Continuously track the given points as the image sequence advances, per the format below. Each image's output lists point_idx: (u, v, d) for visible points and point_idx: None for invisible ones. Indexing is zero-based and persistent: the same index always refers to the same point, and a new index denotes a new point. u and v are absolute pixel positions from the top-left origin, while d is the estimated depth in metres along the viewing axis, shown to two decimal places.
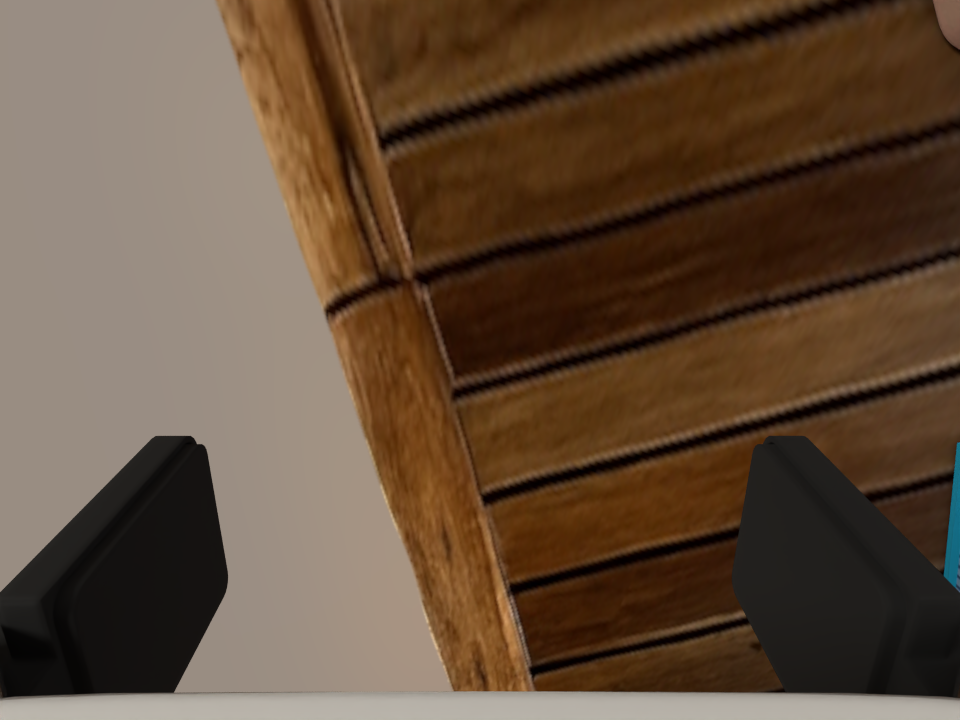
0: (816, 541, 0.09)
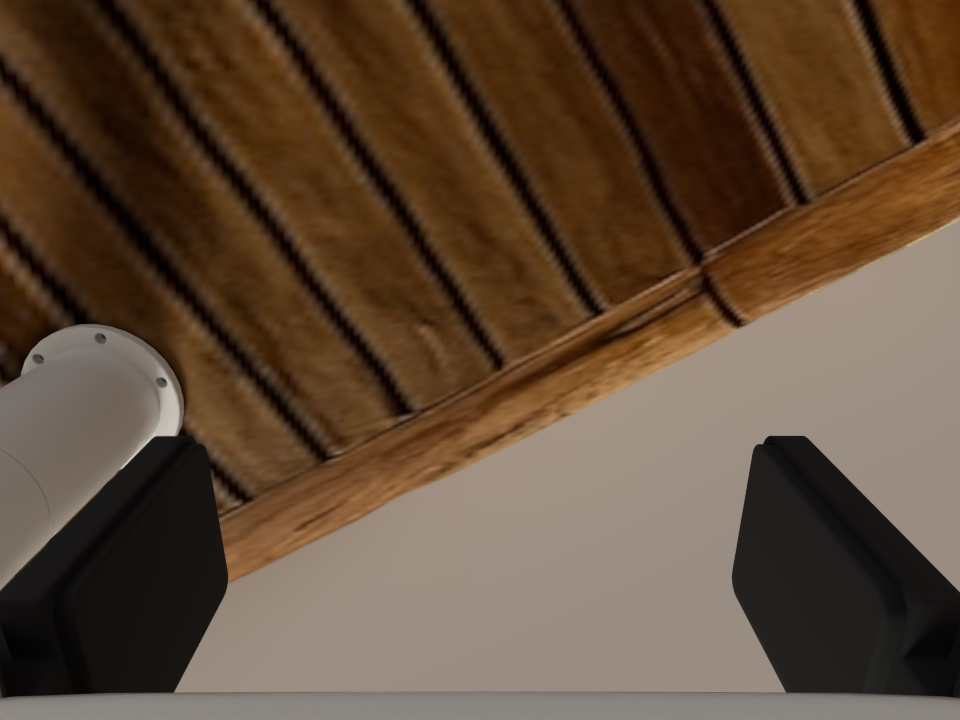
0: (816, 541, 0.09)
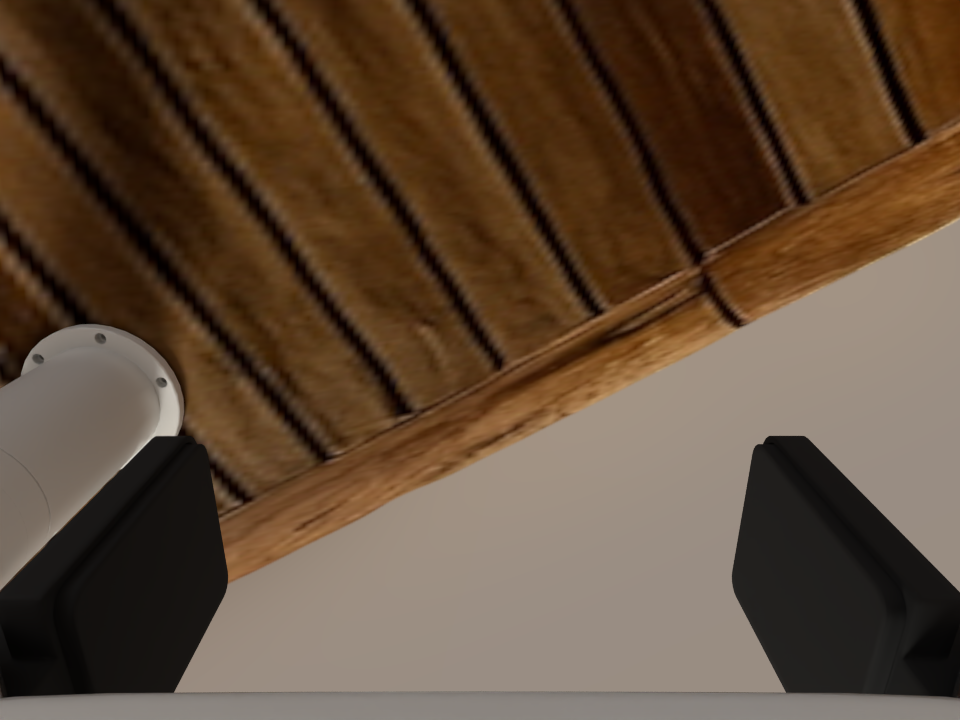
0: (816, 541, 0.09)
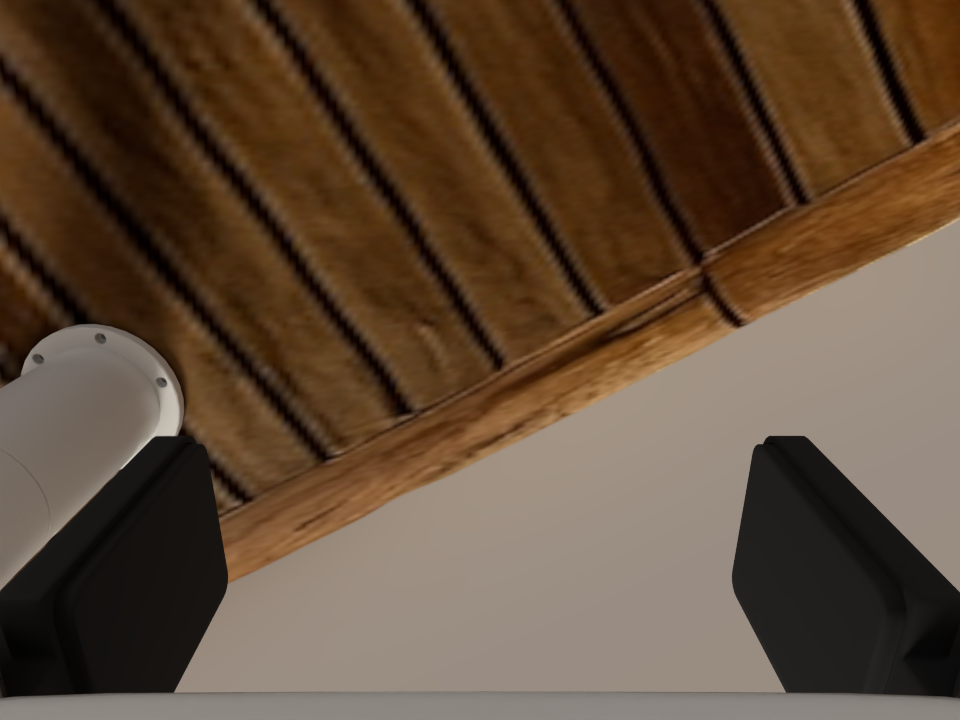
0: (816, 541, 0.09)
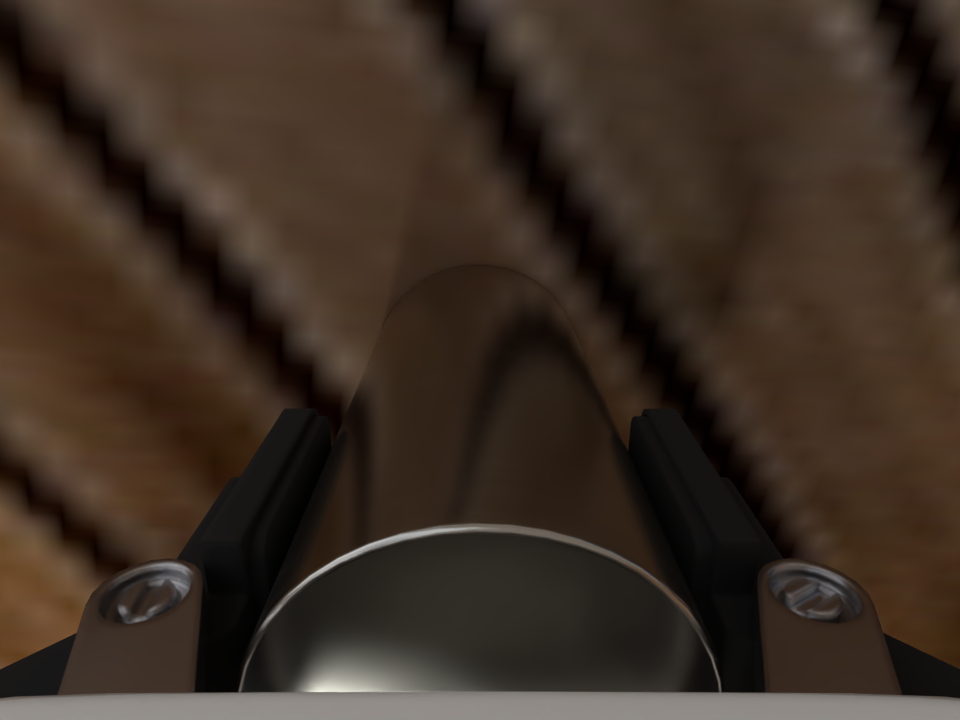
0: (662, 498, 0.10)
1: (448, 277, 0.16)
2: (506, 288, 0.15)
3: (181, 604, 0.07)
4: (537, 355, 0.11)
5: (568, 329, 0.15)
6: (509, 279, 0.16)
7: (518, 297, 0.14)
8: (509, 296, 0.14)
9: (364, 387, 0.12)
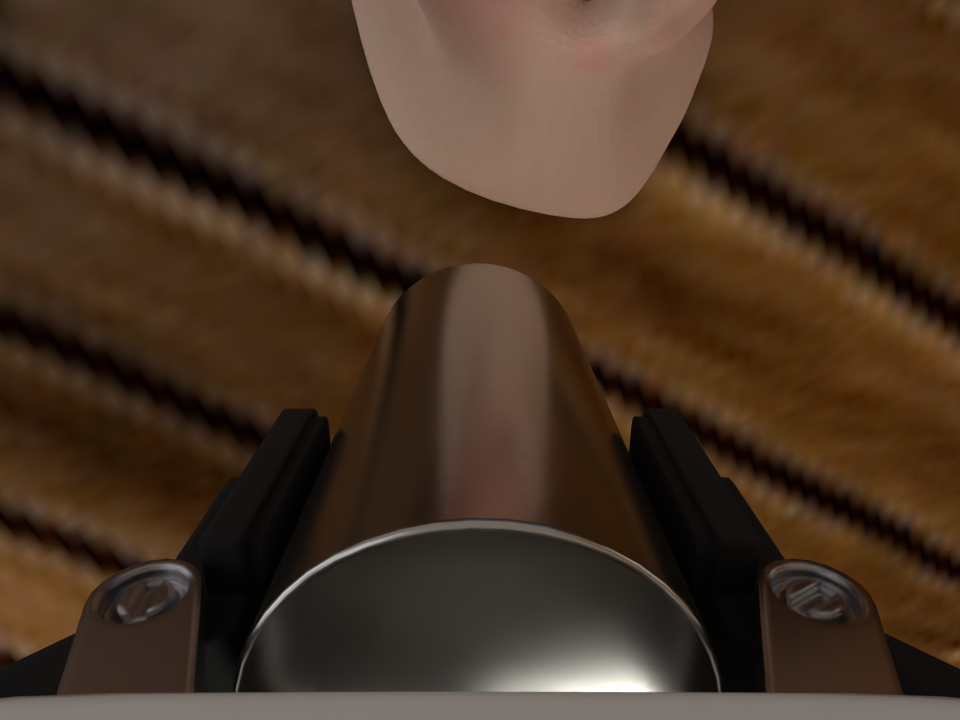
0: (662, 499, 0.10)
1: (447, 275, 0.16)
2: (505, 286, 0.15)
3: (179, 604, 0.07)
4: (535, 352, 0.11)
5: (567, 327, 0.15)
6: (508, 277, 0.16)
7: (517, 295, 0.14)
8: (508, 294, 0.14)
9: (363, 385, 0.12)
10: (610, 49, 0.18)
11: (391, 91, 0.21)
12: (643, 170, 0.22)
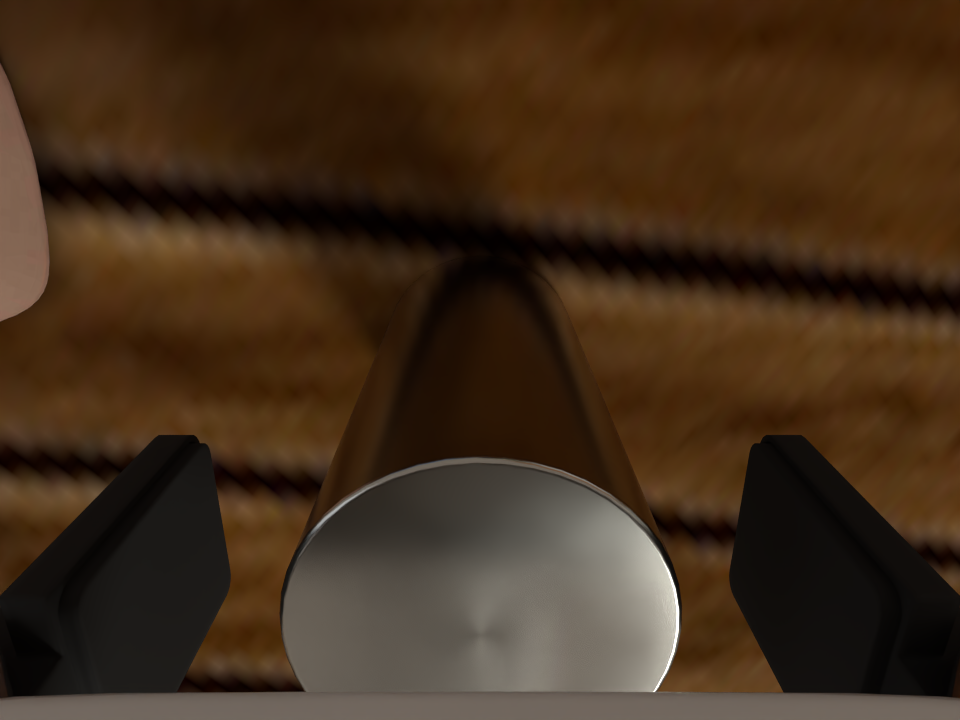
0: (812, 539, 0.09)
1: (453, 267, 0.17)
2: (506, 276, 0.16)
3: None
4: (531, 333, 0.13)
5: (562, 313, 0.16)
6: (508, 268, 0.17)
7: (517, 284, 0.16)
8: (508, 283, 0.16)
9: (379, 362, 0.13)
10: None
11: None
12: (21, 241, 0.17)
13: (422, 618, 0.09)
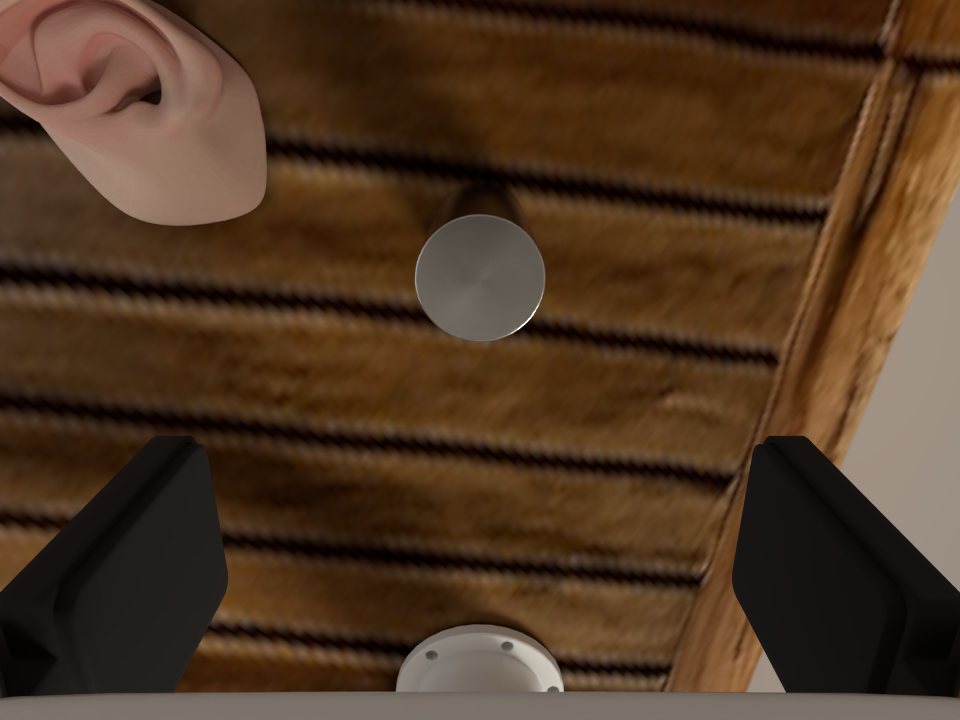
0: (816, 541, 0.09)
1: (467, 186, 0.36)
2: (492, 188, 0.34)
3: None
4: (501, 201, 0.31)
5: (518, 206, 0.34)
6: (494, 187, 0.35)
7: (497, 191, 0.34)
8: (493, 190, 0.34)
9: (437, 216, 0.31)
10: (177, 124, 0.32)
11: (104, 190, 0.36)
12: (256, 174, 0.35)
13: (461, 273, 0.27)
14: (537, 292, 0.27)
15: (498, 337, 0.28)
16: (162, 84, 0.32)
